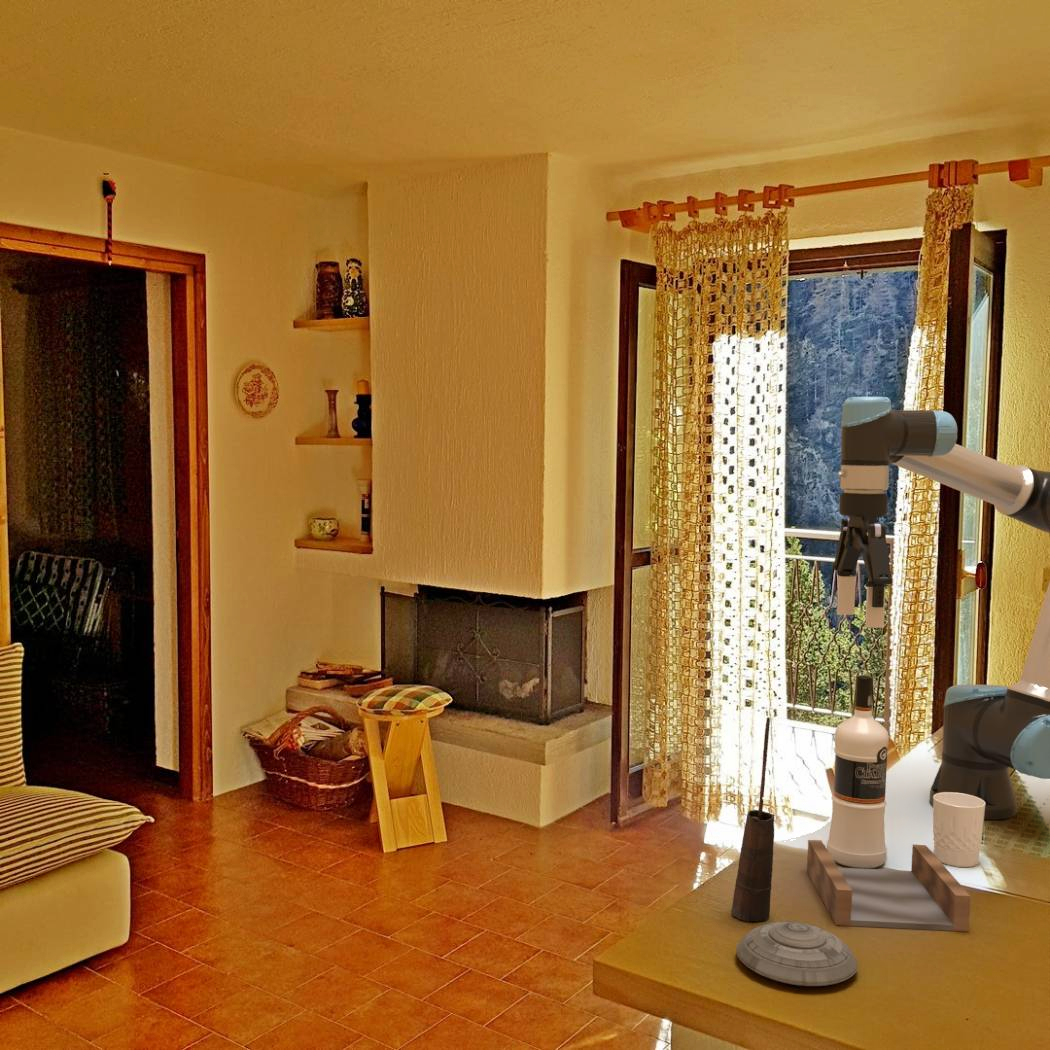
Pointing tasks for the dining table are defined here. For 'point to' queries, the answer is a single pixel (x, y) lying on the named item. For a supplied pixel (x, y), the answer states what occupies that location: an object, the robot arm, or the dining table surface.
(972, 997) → the dining table surface
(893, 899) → the u rest
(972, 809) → the white cup
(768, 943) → the flying saucer
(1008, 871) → the dining table surface
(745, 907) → the butter churn
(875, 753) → the vodka
